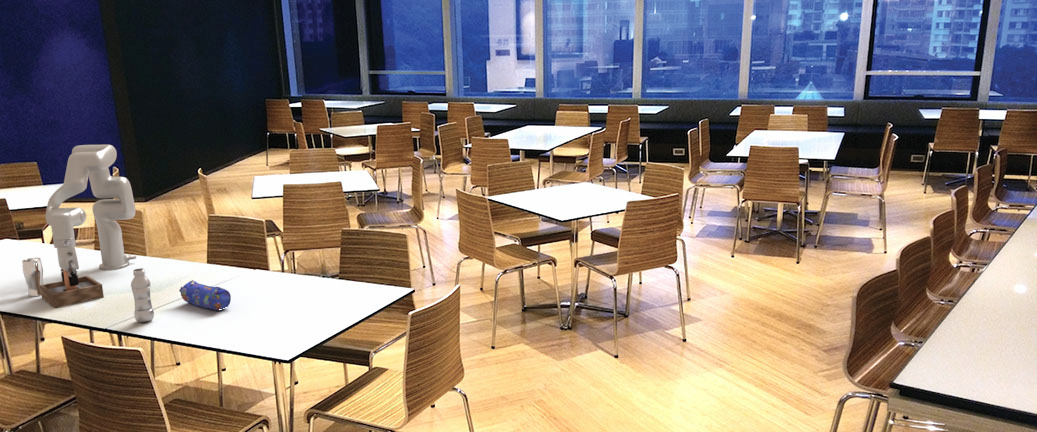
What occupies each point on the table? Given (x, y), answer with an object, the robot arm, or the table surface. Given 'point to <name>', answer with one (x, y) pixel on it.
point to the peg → (66, 278)
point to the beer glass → (33, 275)
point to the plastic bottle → (142, 296)
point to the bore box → (71, 292)
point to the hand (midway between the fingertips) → (70, 282)
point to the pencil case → (205, 295)
